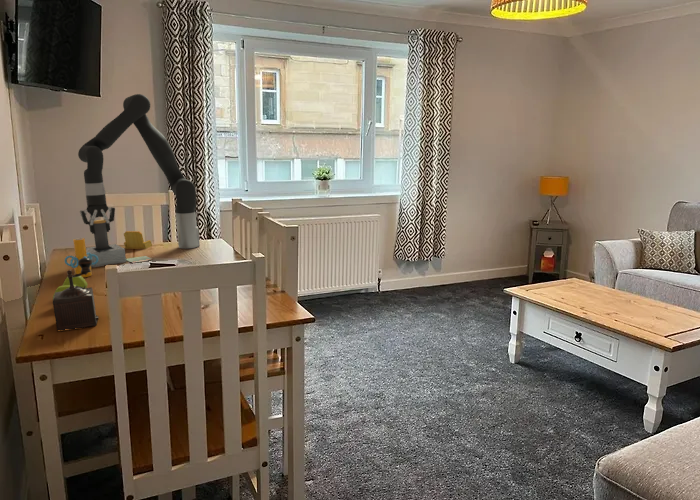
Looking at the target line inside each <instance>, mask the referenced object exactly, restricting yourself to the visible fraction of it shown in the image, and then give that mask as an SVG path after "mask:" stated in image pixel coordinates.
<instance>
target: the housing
mask: <svg viewBox="0 0 700 500" xmlns="http://www.w3.org/2000/svg"><path fill="white" fill-rule="evenodd" d="M88 252H89V253H91V254H94V255H96V256H97V257H98V262H97V263H96V264H94V265H91V269H92V268H98V267H99V268H100V267H104V265H105V266H109V265H108V264H112V265H116V264H123V263H127V261H126V259H127V258H126V257H127V256H126V248H124V247H122V246H120V245H118V244H117V243H111V244H109V248H107V249H96V246H90V247H89V246H87V247H86V253H88ZM88 256H89V254H88V255H87V257H88ZM89 259H90V258H89ZM94 262H96V258H95V257H94V256H92V263H94Z"/></svg>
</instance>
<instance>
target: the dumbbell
mask: <svg viewBox="0 0 700 500" xmlns="http://www.w3.org/2000/svg"><path fill="white" fill-rule="evenodd" d="M72 280H73V285H74V287H75V286H78V287H83V288H84V286H85V288H88V282H87V280H86V279H85V278H83V277H82V276H79V277H73V278H72ZM69 287H70V282H69V278H68V276H66V278H65V280H64V282H63V283H62V285H60V286H58V287H57V288H56V289H55V291H54V294H53V296H52V299H53V298H54V295H55V292H61V291H63V290H65V289H67V288H69Z"/></svg>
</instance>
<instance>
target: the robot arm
mask: <svg viewBox="0 0 700 500" xmlns="http://www.w3.org/2000/svg"><path fill="white" fill-rule="evenodd" d="M122 107H123V111H121V112H120V114H119V115H117V116H116V117H115V118H113V120H111V121H110V122H108V123H107V124H105V126H104V127H102V128H101V130H100V131H99V132H98V133H97V134H95V136H94V137H92V138H91V139H89V140H88V141H87V142H85V143H84V144H83V145H82V146H81V147H80V148H79V150H78V153H77V155H78V158H79V160H80V161H81V162H83V163H87V164H86V165H87V167H86V169H84V171H83V177H84V178H83V179H84V191H85V198H86V199H85V200H86V205H87V206H86V209H84V210H83V209H82V210H80V211H79V213H80V216H81V219H82V221H83V224H85V225H88V226H89V231H90V233H91V234H93V235H94V234H95V230H94V225H93V223H94V221H96V218H102V220H105V221H106V227H107V233H110V231H111V225H110V224H111V223H112V222H114V221H115V214H116V213H115V212H116V208H115V207H114V206H111V207H109V206H108V205H107V197H106V189H105V185H104V176H103V169H104V153H103V151H105V150H108V149H109V148H111V147H112V146H113V144H115V143H116V141H118V139H119V138H120V137H122V135H123V134H124V132H126V131H127V130H128V129H129V127H130V126H132V125H134V127H135V128H136V130H137V131H138V133H139V135H140V137H141V138H142V140H143V142H144V144H145V145H146V147H147V149H148V150H149V152H150V154H151V155H152V157H153V159H154V160H155V162H156V163H157V165H158V166H159V168H160V170H161V171H162V172H163V174H164V175H165V177H166V179H167V181H168V182H167V183H168V184H169V186H170V189H171V191H172V193H173V194H174V196H175V198H176V200H175V201H176V205H175V208H174V209H175V219H176V230H177V232H176V233H177V240H178V241H177V244H178V249H183V250H185V249H186V250H187V249H188V250H189V249H195V248H198V247H200V246H201V243H200V233H199V227H198V226H197V216H196V213H197V212H196V206H197V196H196V195H197V193H196V187H195V185H194V183H193V182H192V181H191V180H189V179H186V178H187V177H185V176H184V174H183V173H182V171H181V169H180V167H179V166H178V162H177V159H176V156H175V153H174V151H173V148H172V147H171V144H170V143H169V141H168V140H167V138H166V137H165V136H164V134H163V133H162V132H161V131H159V129H158V128H156V127H155V125H154V124H152V122H151V120H150V119H149V117H148V115H147V114H148V113H149V111H150V110H151V101H150V99H149V98H148V97H147V96H146V95H144V94H141V93H137V94H133V95H129V96H128V97H126V98H125V99H124V100H123V104H122ZM107 212H108V213H109V217H108V216H107ZM87 214H89V220H88V218H87Z"/></svg>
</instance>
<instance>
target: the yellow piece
mask: <svg viewBox="0 0 700 500" xmlns="http://www.w3.org/2000/svg"><path fill="white" fill-rule="evenodd" d="M123 237H124V242H123V245H124V247H125V248H124V249H125V250H126V249H128V250H130V249H131V250H137V249H138V250H145V249H148V248H151V247H153V244H152V240H150V239H149V240H146V241H144V236H143V233H142V232H141V231H138V230H133V231H132V230H126V231H124V233H123Z"/></svg>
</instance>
